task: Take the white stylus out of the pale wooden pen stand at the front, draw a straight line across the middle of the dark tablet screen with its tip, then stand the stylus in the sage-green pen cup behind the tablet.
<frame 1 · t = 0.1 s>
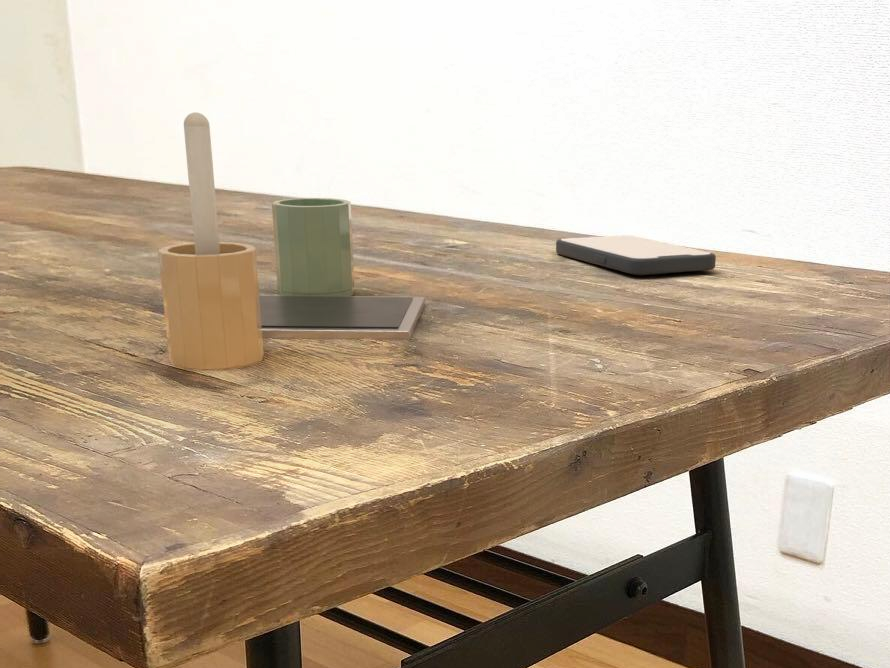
pen cup: (316, 294, 97), on the table
pen stand: (217, 366, 74), on the table
stylus: (216, 358, 74), resting on pen stand
tablet: (302, 326, 86), on the table
phone case: (632, 265, 113), on the table
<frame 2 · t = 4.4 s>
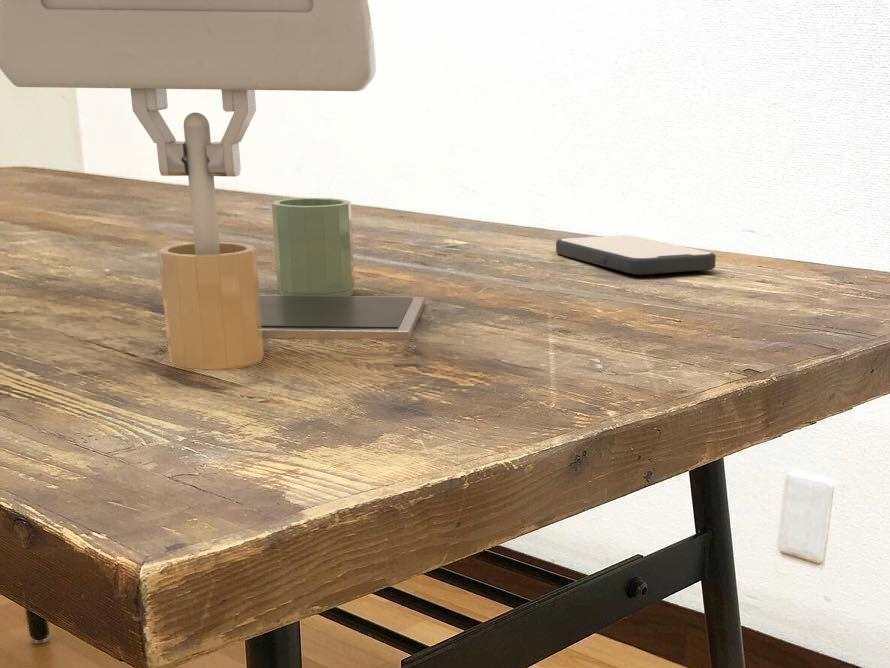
hand: (200, 175, 70), 11 cm above the table, tool pointing down, fingers closed on stylus
stylus: (216, 358, 74), resting on pen stand, touching gripper
everything else where it was.
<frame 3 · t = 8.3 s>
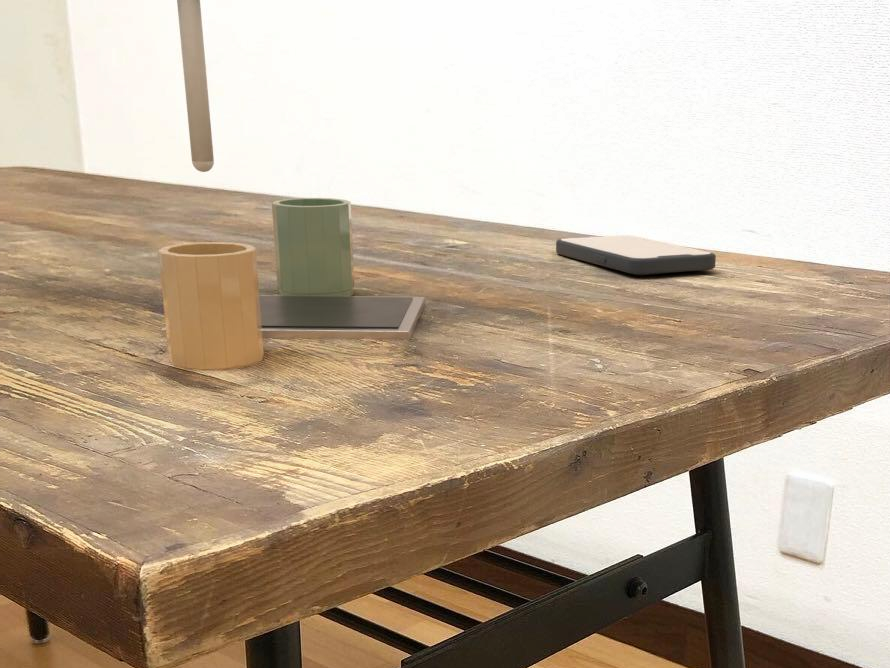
stylus: (203, 171, 82), point 10 cm above the table, touching gripper
everything else where it was.
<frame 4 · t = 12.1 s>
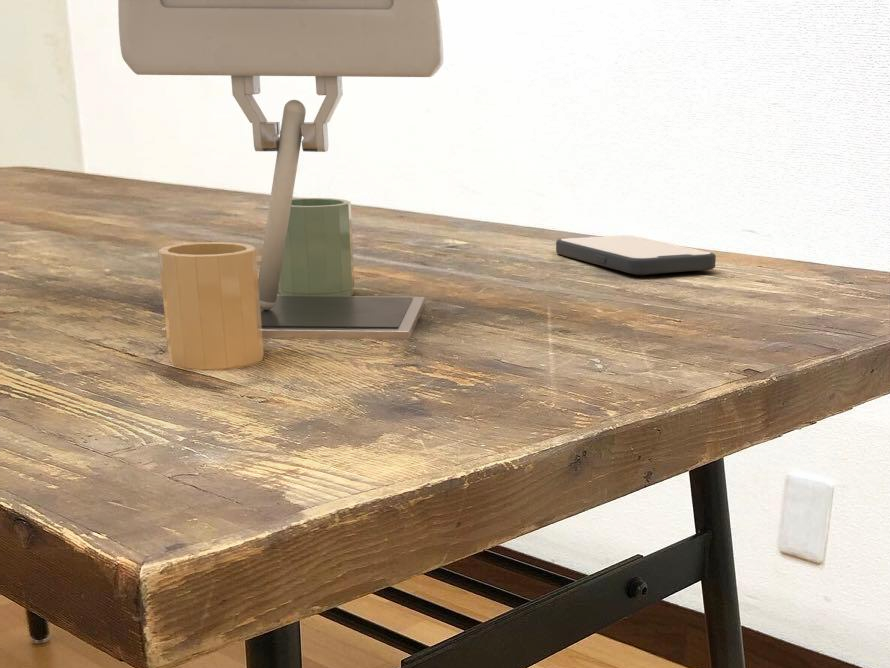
hand: (291, 151, 81), 12 cm above the table, tool pointing down, fingers closed on stylus
stylus: (264, 309, 85), point 1 cm above the table, tilted 13°, touching gripper
everything else where it was.
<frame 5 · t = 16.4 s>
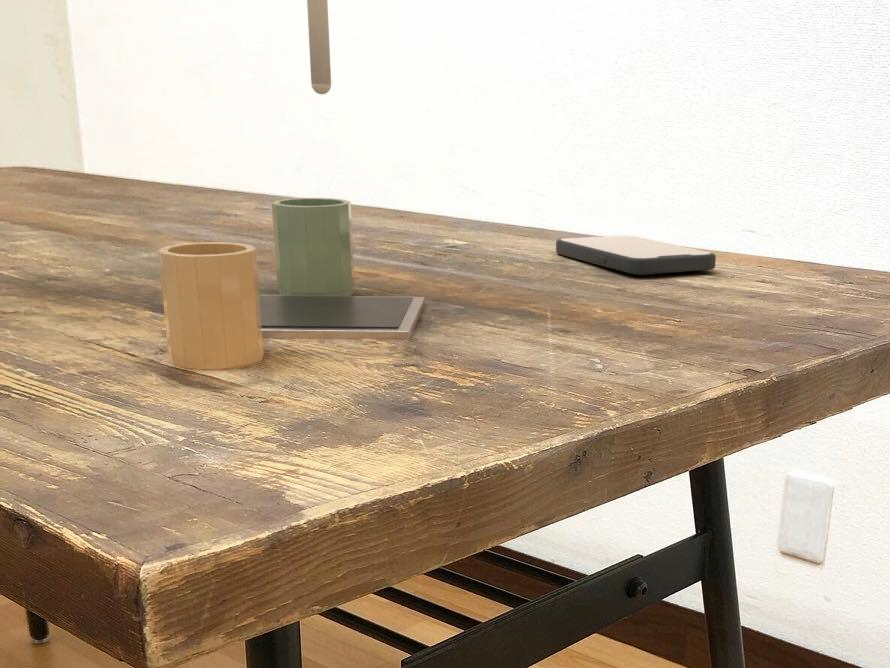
stylus: (321, 94, 88), point 15 cm above the table, touching gripper
everything else where it was.
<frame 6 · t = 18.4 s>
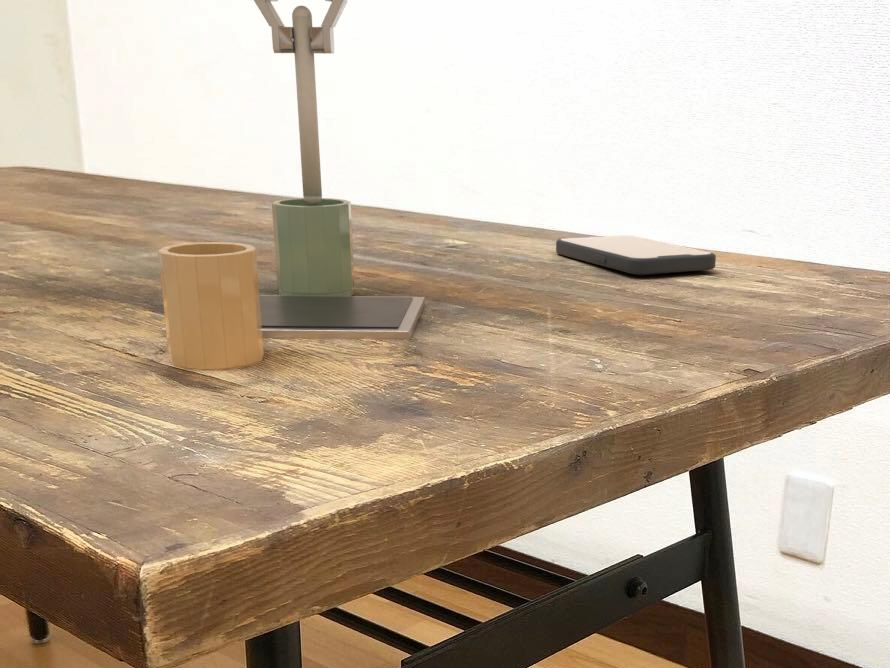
hand: (303, 53, 90), 18 cm above the table, tool pointing down, fingers closed on stylus
stylus: (313, 205, 94), point 7 cm above the table, touching gripper
everything else where it was.
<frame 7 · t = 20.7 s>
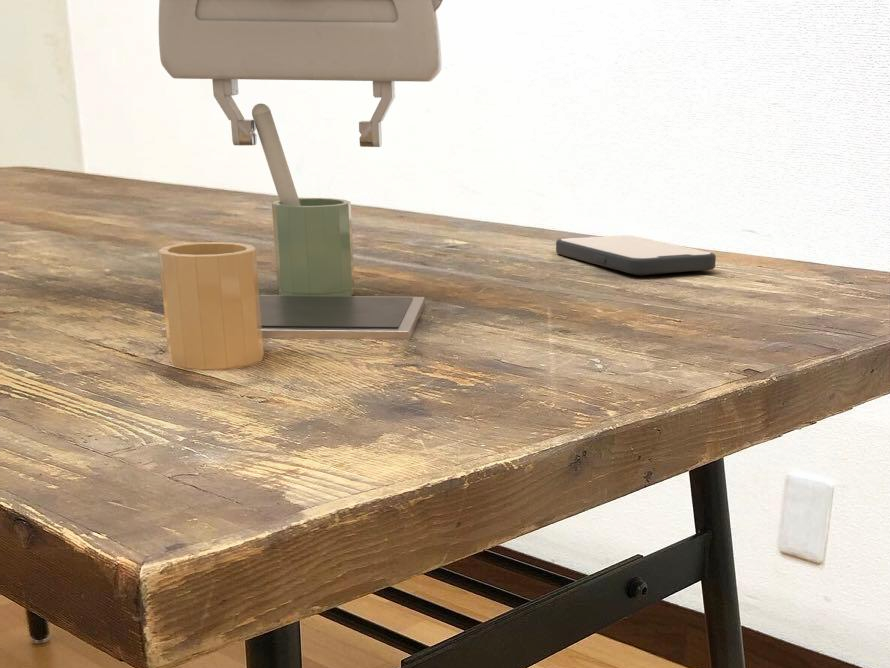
hand: (308, 145, 93), 11 cm above the table, tool pointing down, fingers open, 8 cm apart
stylus: (317, 287, 96), point 1 cm above the table, tilted 15°, touching pen cup
everything else where it was.
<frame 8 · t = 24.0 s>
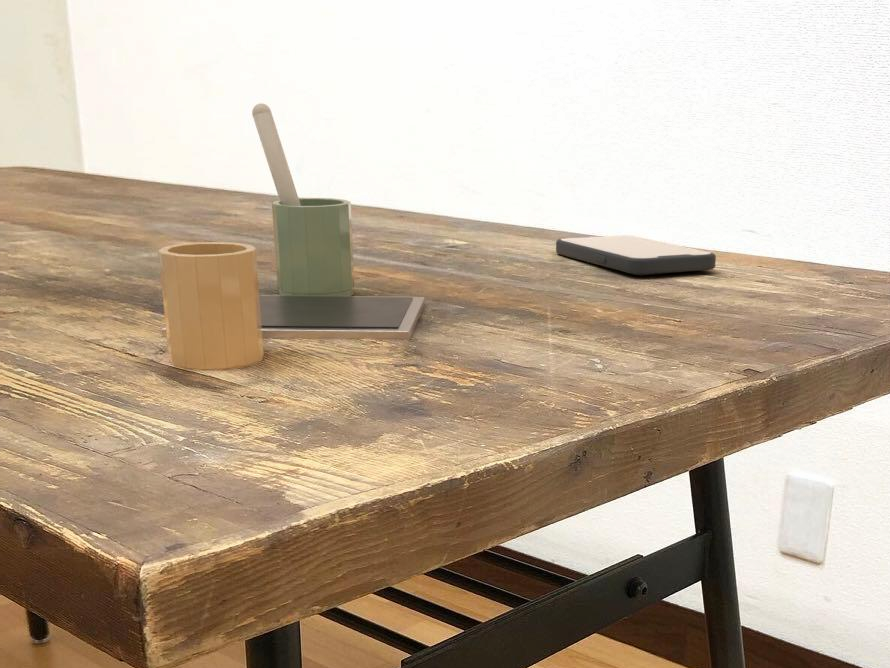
nothing on the table moved.
at the end: stylus 0.1 cm off-centre in the pen cup, point 0.5 cm above the pen cup's base; stylus tilted 15°; the gripper is holding nothing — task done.
